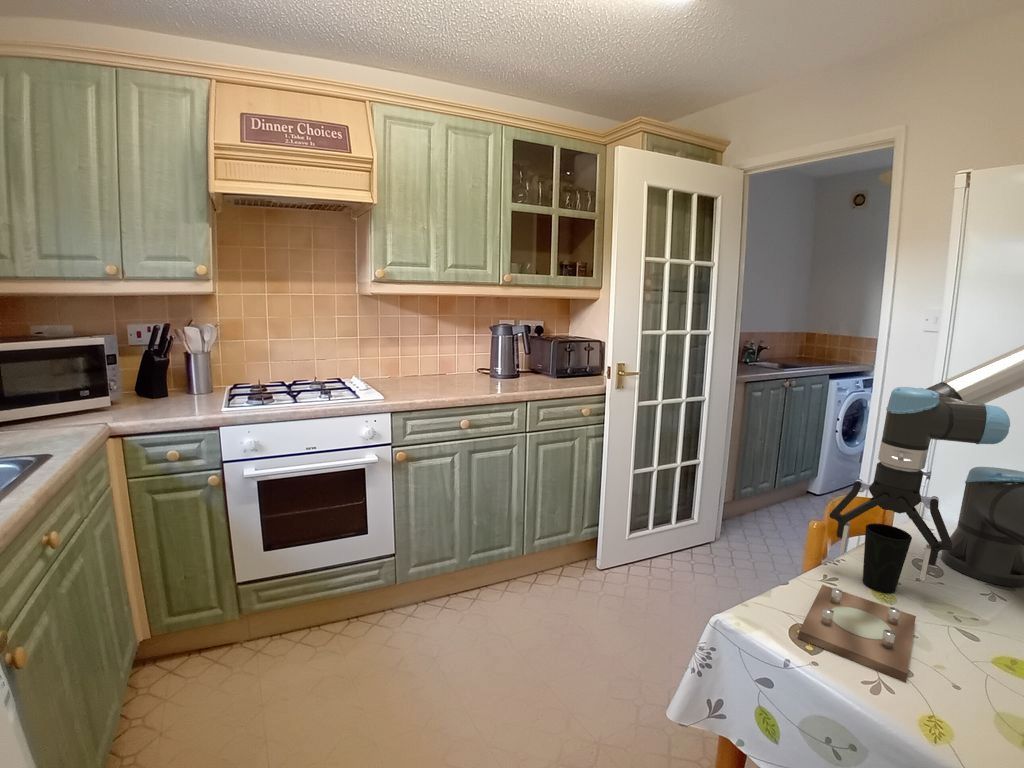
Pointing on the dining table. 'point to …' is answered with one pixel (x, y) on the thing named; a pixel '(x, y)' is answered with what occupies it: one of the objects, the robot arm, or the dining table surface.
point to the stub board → (860, 631)
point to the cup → (884, 556)
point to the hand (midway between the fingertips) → (880, 565)
